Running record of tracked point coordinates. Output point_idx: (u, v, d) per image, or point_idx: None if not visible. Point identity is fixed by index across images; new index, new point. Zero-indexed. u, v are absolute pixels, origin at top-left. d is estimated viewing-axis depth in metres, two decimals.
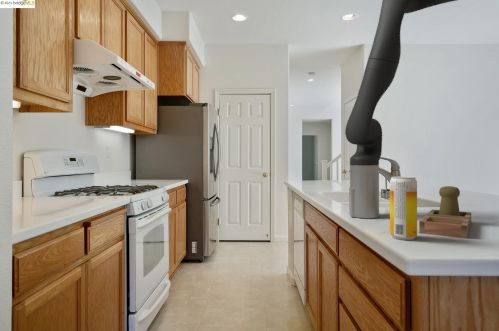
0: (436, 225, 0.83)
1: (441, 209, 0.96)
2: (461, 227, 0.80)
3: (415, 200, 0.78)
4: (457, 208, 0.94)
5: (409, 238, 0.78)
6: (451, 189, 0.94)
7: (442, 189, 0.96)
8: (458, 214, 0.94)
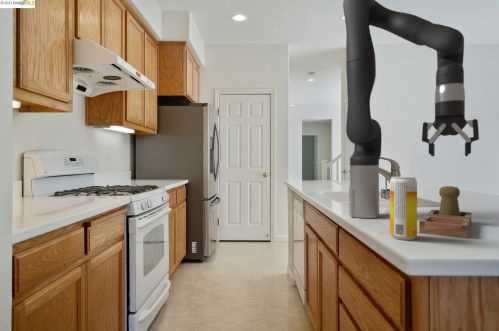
0: (436, 225, 0.83)
1: (441, 209, 0.96)
2: (461, 227, 0.80)
3: (415, 200, 0.78)
4: (457, 208, 0.94)
5: (409, 238, 0.78)
6: (451, 189, 0.94)
7: (442, 189, 0.96)
8: (458, 214, 0.94)
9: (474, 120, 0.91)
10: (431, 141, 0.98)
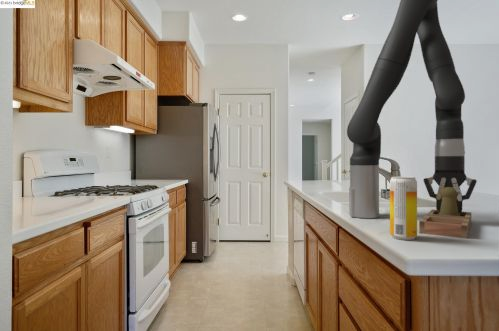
0: (436, 225, 0.83)
1: (441, 209, 0.96)
2: (461, 227, 0.80)
3: (415, 200, 0.78)
4: (457, 208, 0.94)
5: (409, 238, 0.78)
6: (451, 189, 0.94)
7: (442, 189, 0.96)
8: (458, 214, 0.94)
9: (473, 181, 0.92)
10: (439, 197, 0.97)
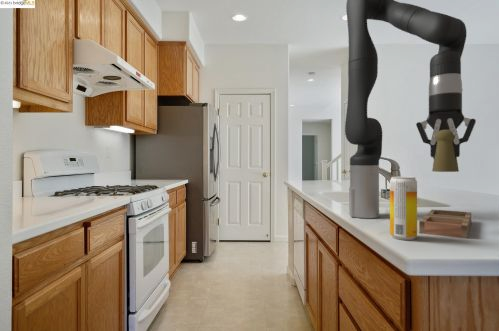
0: (436, 225, 0.83)
1: (436, 155, 0.86)
2: (461, 227, 0.80)
3: (415, 200, 0.78)
4: (454, 153, 0.84)
5: (409, 238, 0.78)
6: (447, 131, 0.84)
7: (437, 132, 0.85)
8: (455, 159, 0.84)
9: (472, 120, 0.81)
10: (433, 142, 0.86)
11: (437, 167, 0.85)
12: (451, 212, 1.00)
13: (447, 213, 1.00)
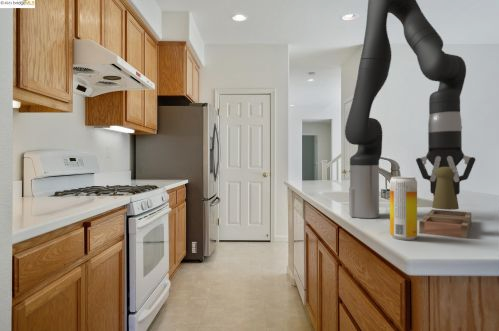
0: (436, 225, 0.83)
1: (436, 192, 0.86)
2: (461, 227, 0.80)
3: (415, 200, 0.78)
4: None
5: (409, 238, 0.78)
6: (447, 169, 0.84)
7: (437, 169, 0.85)
8: (455, 197, 0.84)
9: (472, 158, 0.81)
10: (433, 179, 0.86)
11: (437, 204, 0.85)
12: (451, 212, 1.00)
13: (447, 213, 1.00)
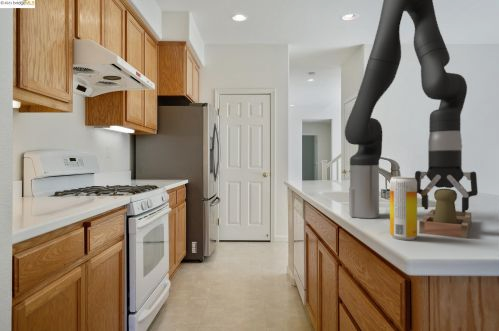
0: (436, 225, 0.83)
1: (436, 214, 0.86)
2: (461, 227, 0.80)
3: (415, 200, 0.78)
4: (454, 213, 0.84)
5: (409, 238, 0.78)
6: (448, 192, 0.84)
7: (438, 192, 0.85)
8: (455, 220, 0.84)
9: (472, 173, 0.81)
10: (424, 193, 0.88)
11: None
12: None
13: None
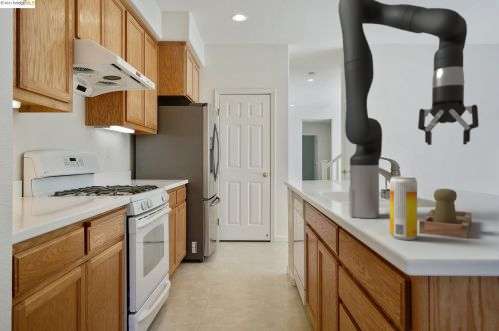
0: (436, 225, 0.83)
1: (436, 214, 0.86)
2: (461, 227, 0.80)
3: (415, 200, 0.78)
4: (454, 213, 0.84)
5: (409, 238, 0.78)
6: (447, 192, 0.84)
7: (437, 192, 0.85)
8: (455, 220, 0.84)
9: (473, 106, 0.86)
10: (428, 129, 0.93)
11: None
12: None
13: None
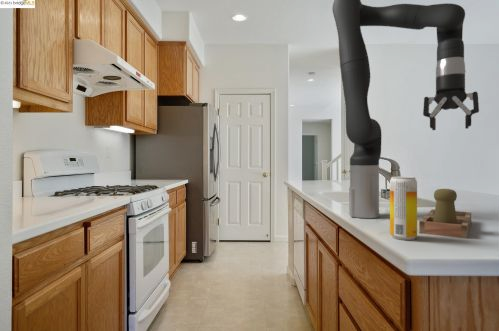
0: (436, 225, 0.83)
1: (436, 214, 0.86)
2: (461, 227, 0.80)
3: (415, 200, 0.78)
4: (454, 213, 0.84)
5: (409, 238, 0.78)
6: (447, 192, 0.84)
7: (437, 192, 0.85)
8: (455, 220, 0.84)
9: (474, 93, 0.94)
10: (432, 115, 1.00)
11: None
12: None
13: None
